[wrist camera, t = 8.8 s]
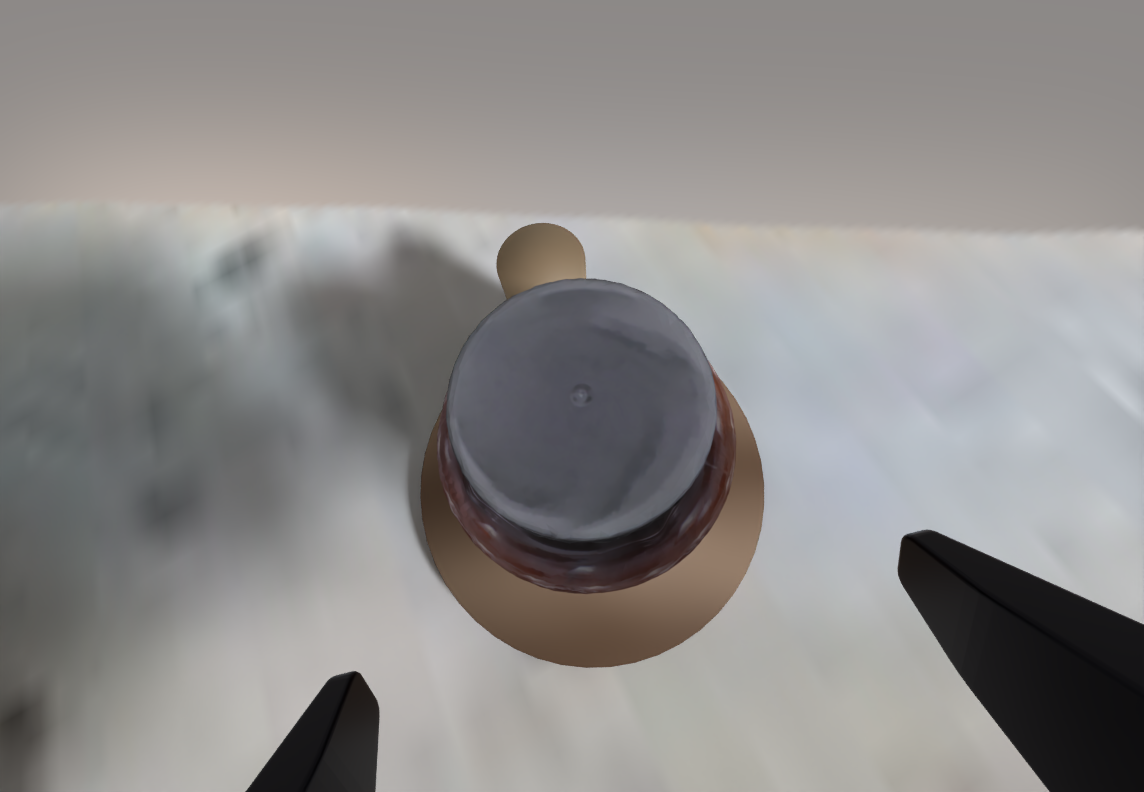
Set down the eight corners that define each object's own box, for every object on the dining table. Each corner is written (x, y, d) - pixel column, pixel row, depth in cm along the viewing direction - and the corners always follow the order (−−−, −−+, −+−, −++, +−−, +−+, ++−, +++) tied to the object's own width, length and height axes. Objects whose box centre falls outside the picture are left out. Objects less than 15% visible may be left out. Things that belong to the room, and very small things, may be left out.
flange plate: (804, 613, 18) (928, 652, 11) (458, 699, 18) (373, 793, 11) (696, 292, 21) (741, 175, 15) (406, 361, 21) (317, 274, 14)
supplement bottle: (520, 392, 19) (424, 196, 9) (682, 411, 19) (798, 227, 8) (492, 560, 18) (329, 579, 7) (668, 585, 17) (789, 648, 7)
